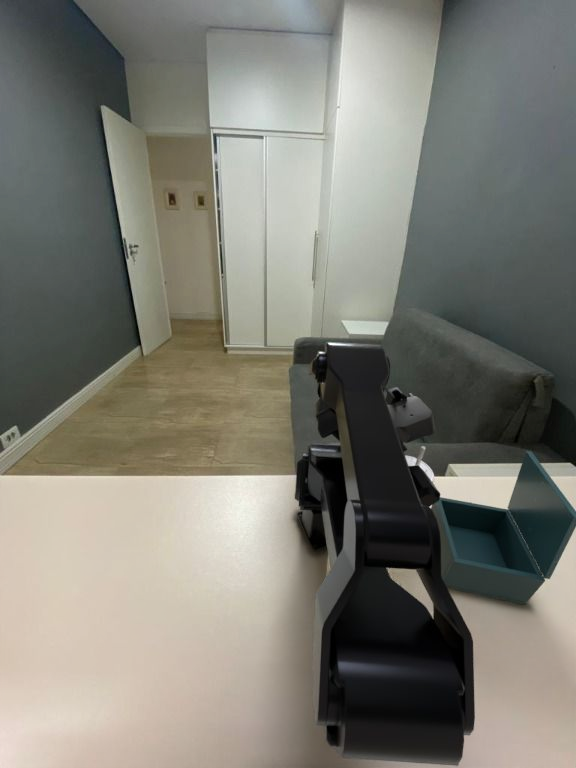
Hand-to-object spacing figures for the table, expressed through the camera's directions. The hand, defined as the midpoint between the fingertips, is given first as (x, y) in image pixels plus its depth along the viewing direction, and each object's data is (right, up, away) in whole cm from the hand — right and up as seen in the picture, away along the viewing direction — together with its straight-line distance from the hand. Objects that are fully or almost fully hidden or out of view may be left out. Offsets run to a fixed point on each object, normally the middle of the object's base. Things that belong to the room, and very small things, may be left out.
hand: (411, 479), depth 47 cm
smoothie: (-1, -7, +3) cm, 7 cm away
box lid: (+12, -1, -9) cm, 15 cm away
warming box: (+7, -10, -3) cm, 13 cm away
